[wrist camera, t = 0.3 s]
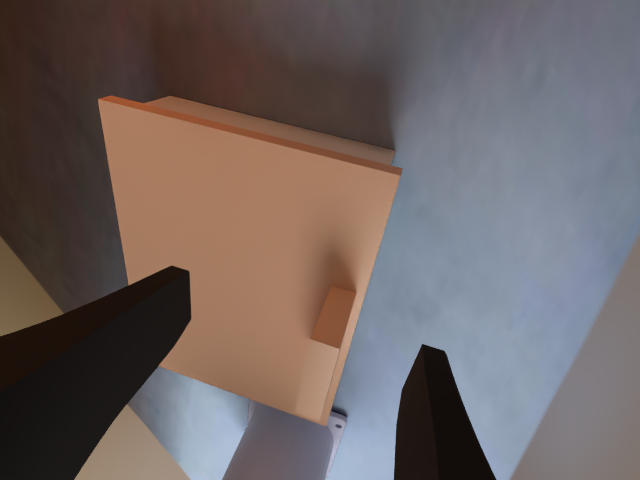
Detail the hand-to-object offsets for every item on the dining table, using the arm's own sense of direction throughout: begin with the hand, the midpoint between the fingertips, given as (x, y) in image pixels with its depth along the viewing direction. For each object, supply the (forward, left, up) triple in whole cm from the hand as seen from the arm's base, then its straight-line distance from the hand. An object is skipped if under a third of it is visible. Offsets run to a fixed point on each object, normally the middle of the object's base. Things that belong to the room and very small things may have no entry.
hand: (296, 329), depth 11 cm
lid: (-5, +5, -7) cm, 10 cm away
